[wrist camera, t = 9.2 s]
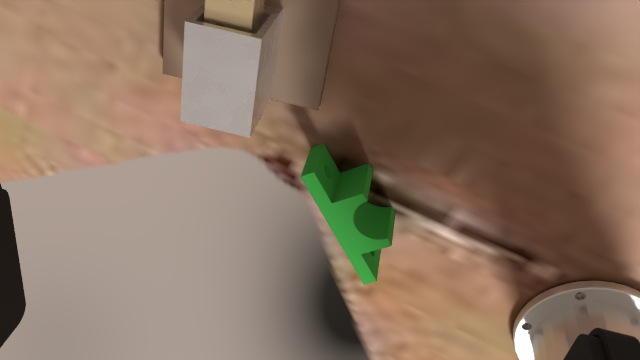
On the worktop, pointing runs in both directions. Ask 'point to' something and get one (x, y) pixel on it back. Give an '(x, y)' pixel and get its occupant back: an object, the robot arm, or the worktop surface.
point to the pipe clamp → (350, 210)
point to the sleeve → (228, 72)
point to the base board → (293, 50)
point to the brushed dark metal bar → (235, 14)
